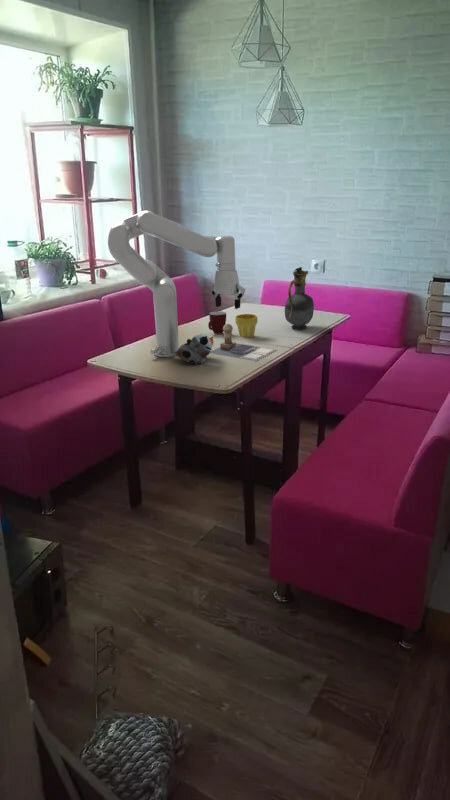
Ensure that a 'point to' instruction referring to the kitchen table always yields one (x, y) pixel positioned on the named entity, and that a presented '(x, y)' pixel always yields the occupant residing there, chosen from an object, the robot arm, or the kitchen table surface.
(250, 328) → the plant pot
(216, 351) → the desk mat
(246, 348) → the ink pad
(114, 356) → the kitchen table surface
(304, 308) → the pitcher
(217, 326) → the mug
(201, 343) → the lucky cat figurine
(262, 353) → the paper sheet
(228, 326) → the stamp
